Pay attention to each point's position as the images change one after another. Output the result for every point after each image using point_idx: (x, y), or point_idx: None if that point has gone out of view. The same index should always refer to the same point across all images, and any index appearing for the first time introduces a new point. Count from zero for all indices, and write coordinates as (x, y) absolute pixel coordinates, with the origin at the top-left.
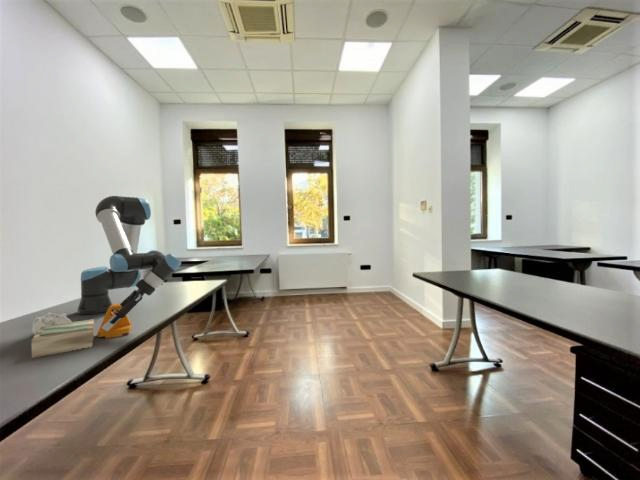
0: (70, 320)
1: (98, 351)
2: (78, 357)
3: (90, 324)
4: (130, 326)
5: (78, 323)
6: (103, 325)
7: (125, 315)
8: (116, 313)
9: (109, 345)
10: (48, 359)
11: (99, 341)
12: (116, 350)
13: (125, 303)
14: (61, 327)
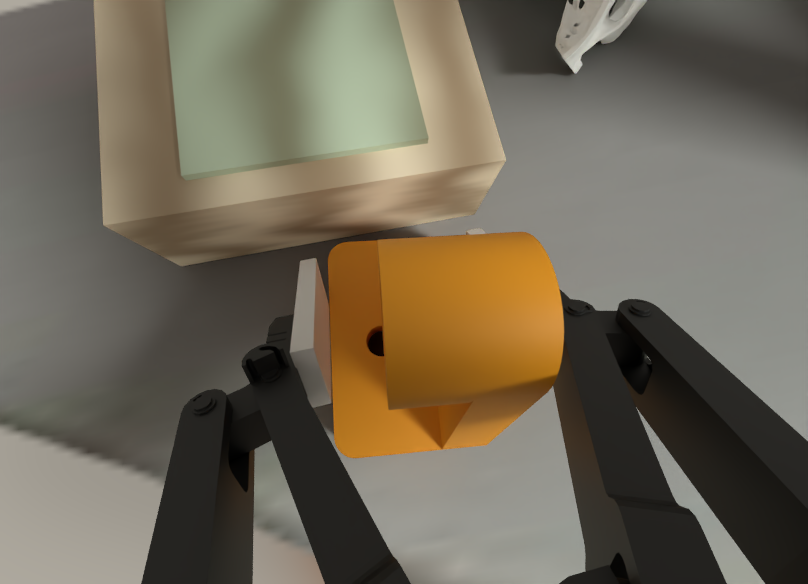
0: (595, 22)
1: (64, 321)
2: (21, 240)
3: (329, 171)
4: (426, 448)
5: (374, 86)
6: (310, 268)
7: (454, 422)
8: (248, 372)
9: (152, 361)
10: (89, 114)
11: (277, 282)
12: (10, 429)
13: (579, 434)
14: (306, 11)
